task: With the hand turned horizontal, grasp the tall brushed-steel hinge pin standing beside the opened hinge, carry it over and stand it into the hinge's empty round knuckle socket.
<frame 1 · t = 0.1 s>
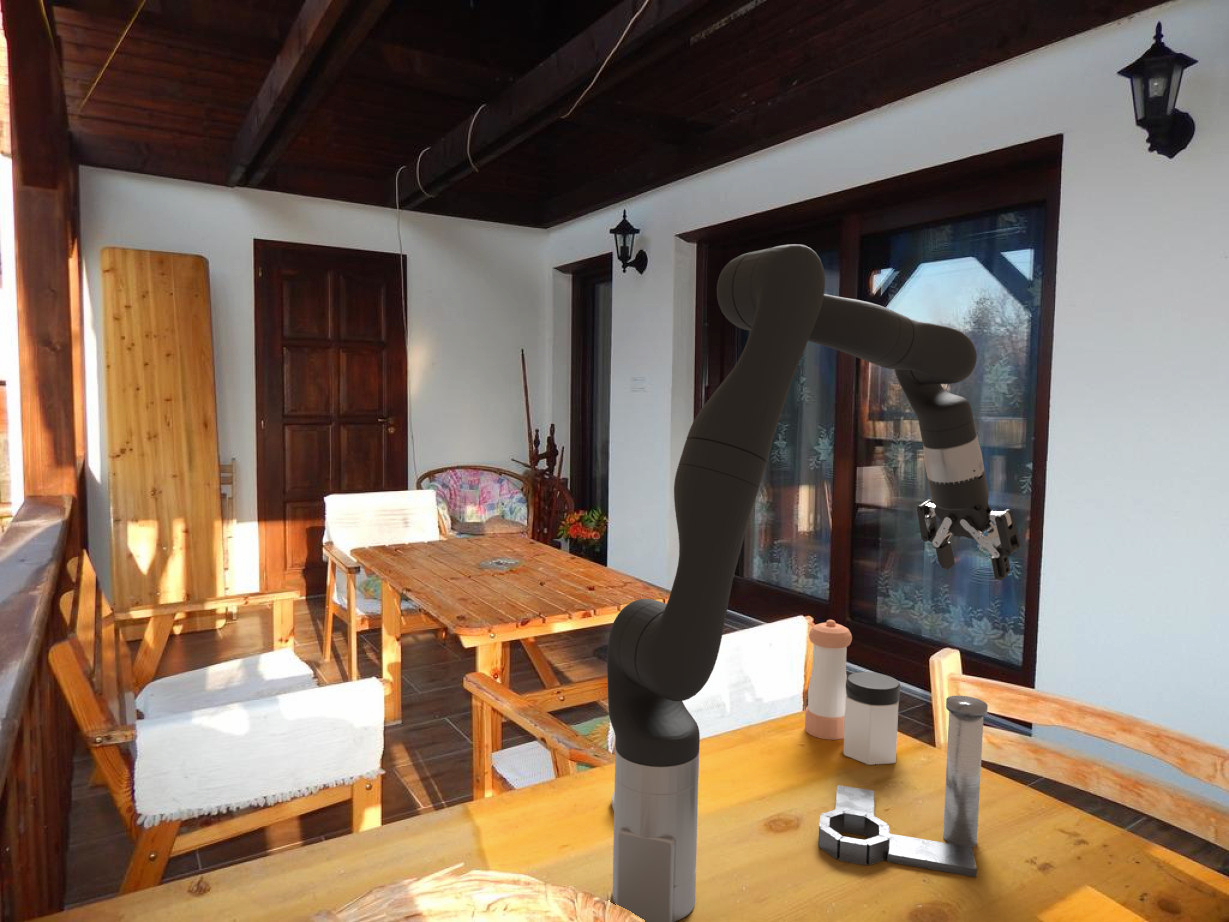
hand: (974, 572, 119), 31 cm above the table, tool tilted 20°, fingers open, 8 cm apart
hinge: (853, 845, 103), on the table
mechanical component: (648, 809, 112), on the table
pepper shaker: (826, 732, 138), on the table
pin: (959, 839, 104), on the table
jar: (869, 755, 130), on the table
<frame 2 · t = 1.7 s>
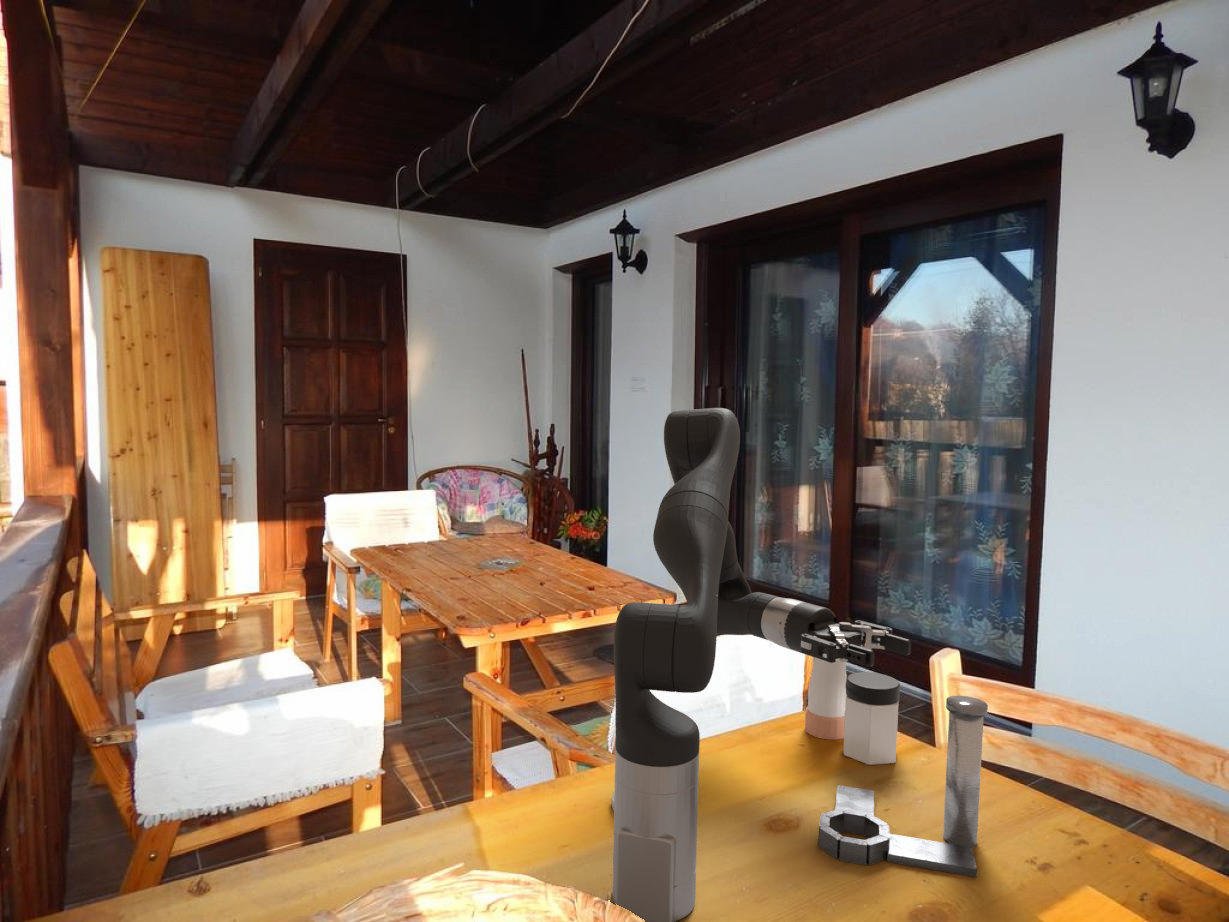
hand: (891, 653, 112), 21 cm above the table, tool horizontal, fingers open, 8 cm apart
nothing on the table moved.
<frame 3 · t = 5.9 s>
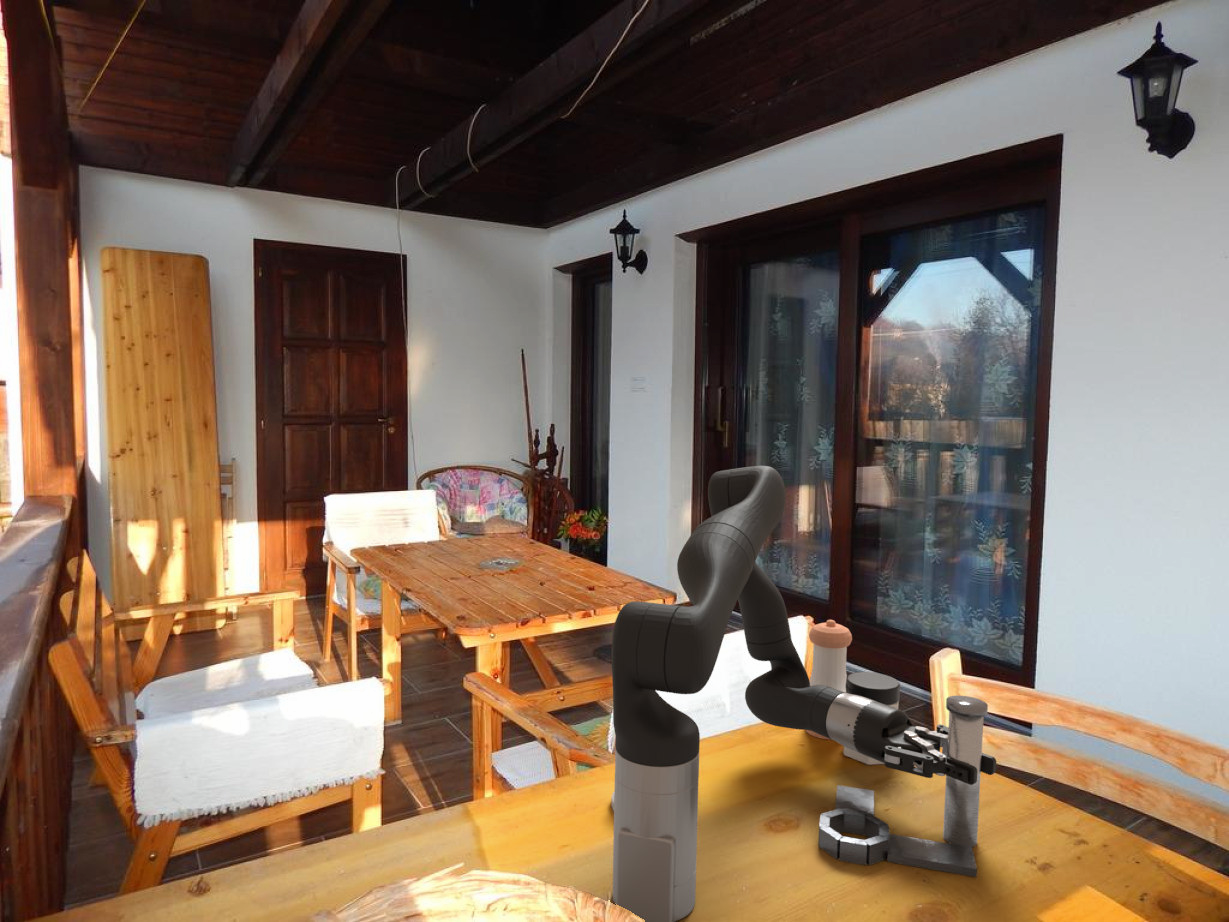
hand: (984, 771, 102), 10 cm above the table, tool horizontal, fingers closed on pin, 4 cm apart
pin: (959, 839, 104), on the table, touching gripper
everything else where it was.
when the fingers open (11 cm above the table, at t = 10.8 s): pin stays where it is, resting in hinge.
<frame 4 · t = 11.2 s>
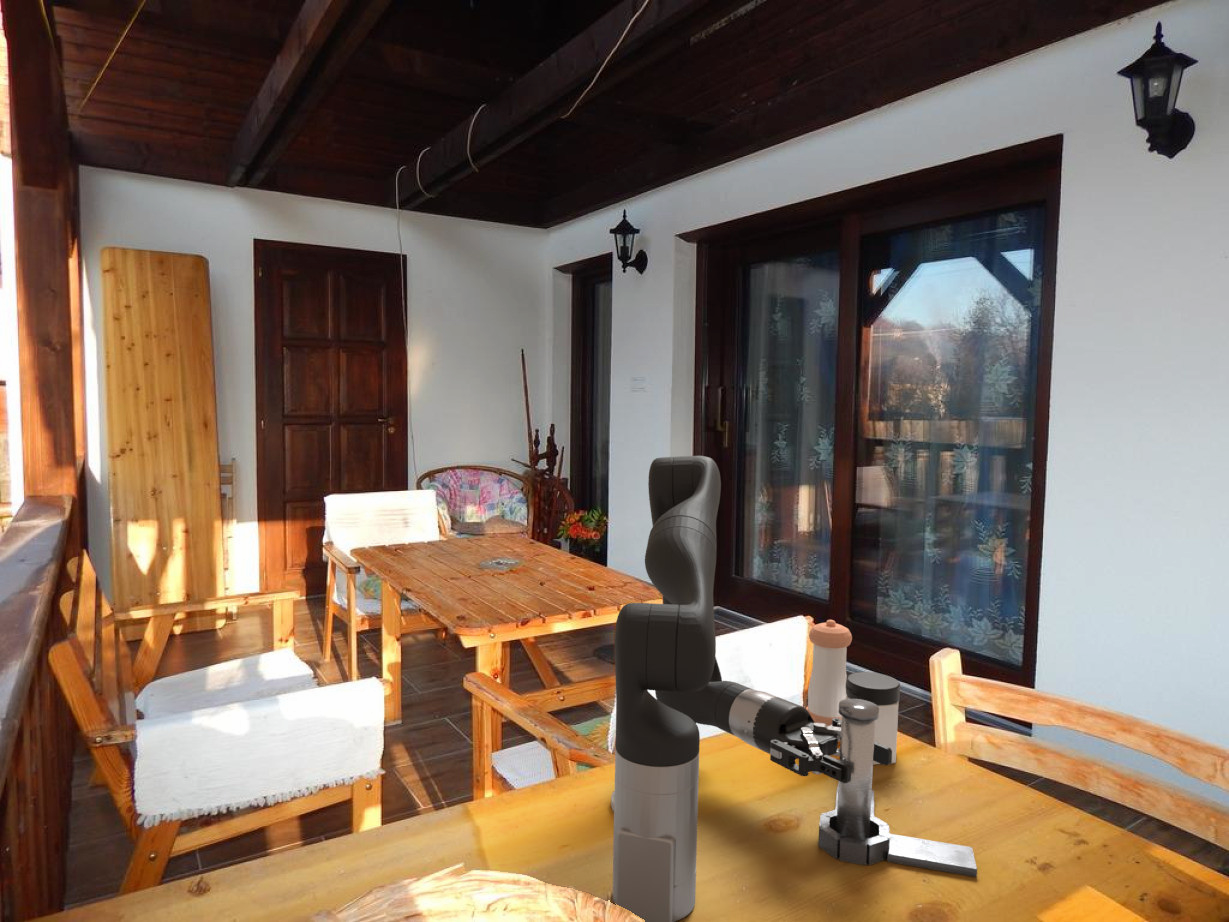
hand: (870, 766, 100), 11 cm above the table, tool horizontal, fingers open, 8 cm apart
pin: (852, 844, 103), resting in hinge
everything else where it was.
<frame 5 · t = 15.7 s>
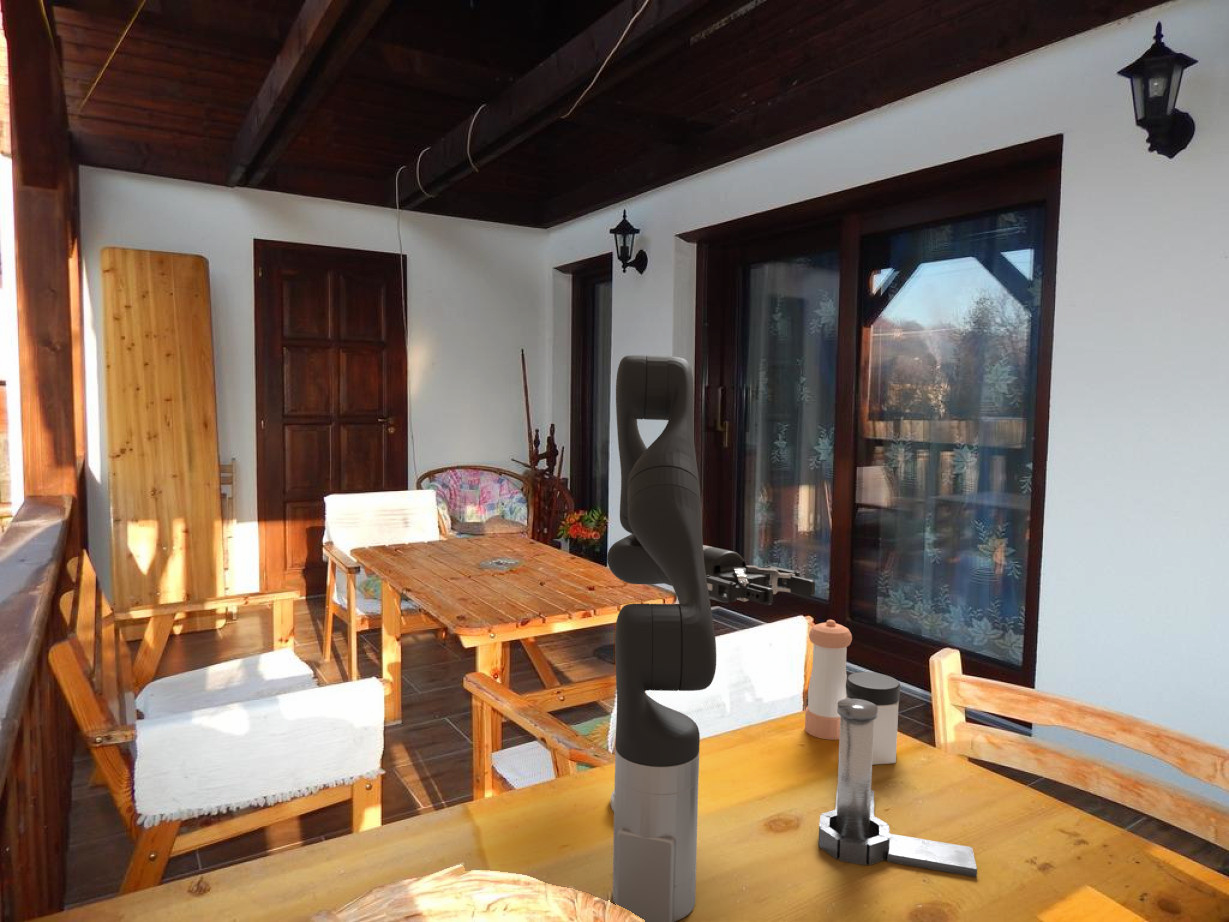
hand: (792, 593, 109), 30 cm above the table, tool horizontal, fingers open, 8 cm apart
nothing on the table moved.
at the end: pin 0.2 cm off-centre on the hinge, point 0.0 cm above the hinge's base; pin tilted 0°; the gripper is holding nothing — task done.
